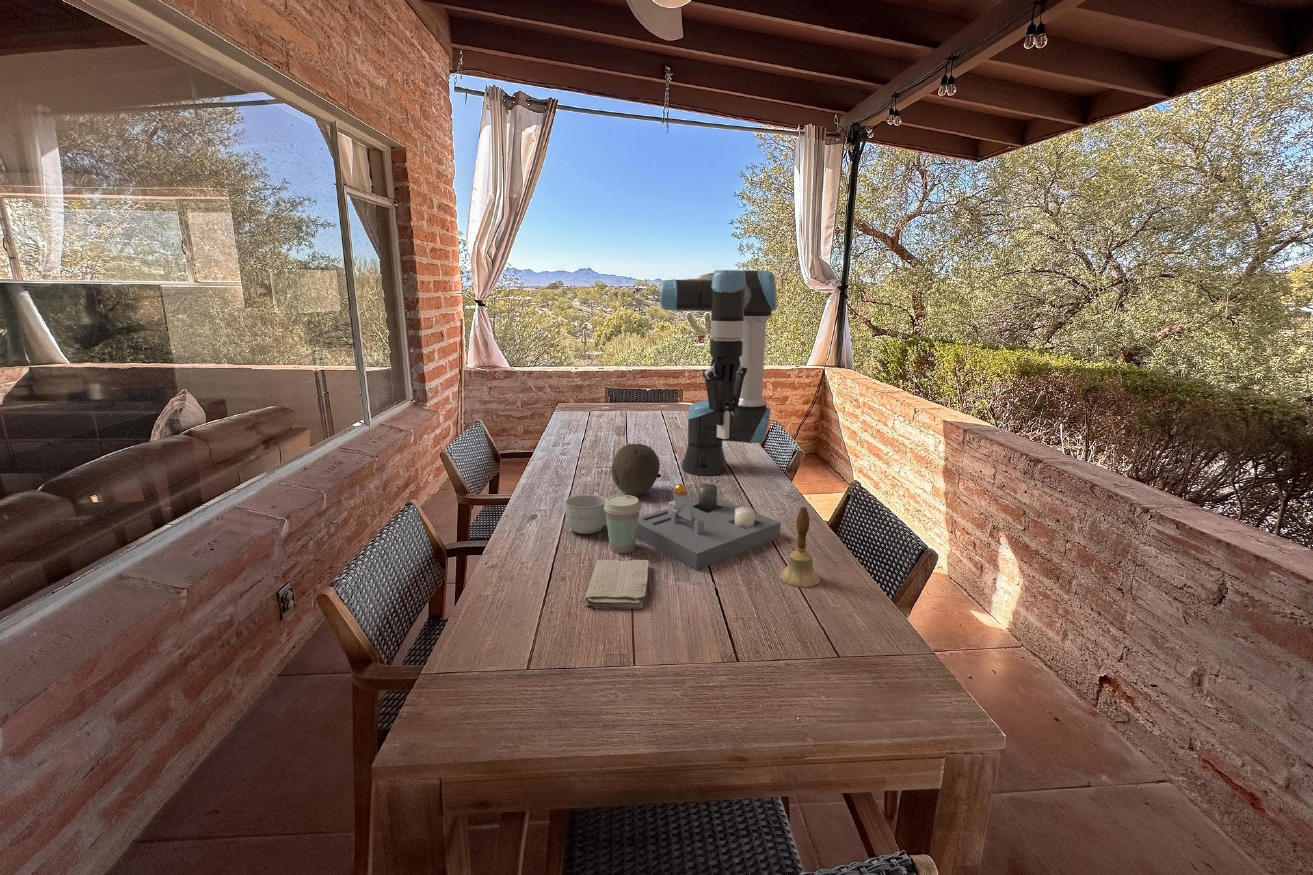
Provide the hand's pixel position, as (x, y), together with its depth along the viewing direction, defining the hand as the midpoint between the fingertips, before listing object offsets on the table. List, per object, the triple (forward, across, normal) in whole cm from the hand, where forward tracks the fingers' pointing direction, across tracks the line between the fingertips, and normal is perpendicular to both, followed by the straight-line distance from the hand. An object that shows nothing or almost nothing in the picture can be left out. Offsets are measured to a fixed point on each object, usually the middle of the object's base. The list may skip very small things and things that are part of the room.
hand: (722, 437), depth 140 cm
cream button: (+23, -2, +6) cm, 24 cm away
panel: (+24, +5, 0) cm, 25 cm away
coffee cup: (+25, +25, -7) cm, 36 cm away
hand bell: (+25, +4, +28) cm, 38 cm away
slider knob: (+20, +8, -8) cm, 23 cm away
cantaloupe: (+25, 0, -35) cm, 43 cm away
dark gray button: (+21, -2, -6) cm, 22 cm away
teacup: (+25, +25, -20) cm, 40 cm away
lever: (+18, +11, 0) cm, 21 cm away
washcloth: (+25, +36, +7) cm, 45 cm away
